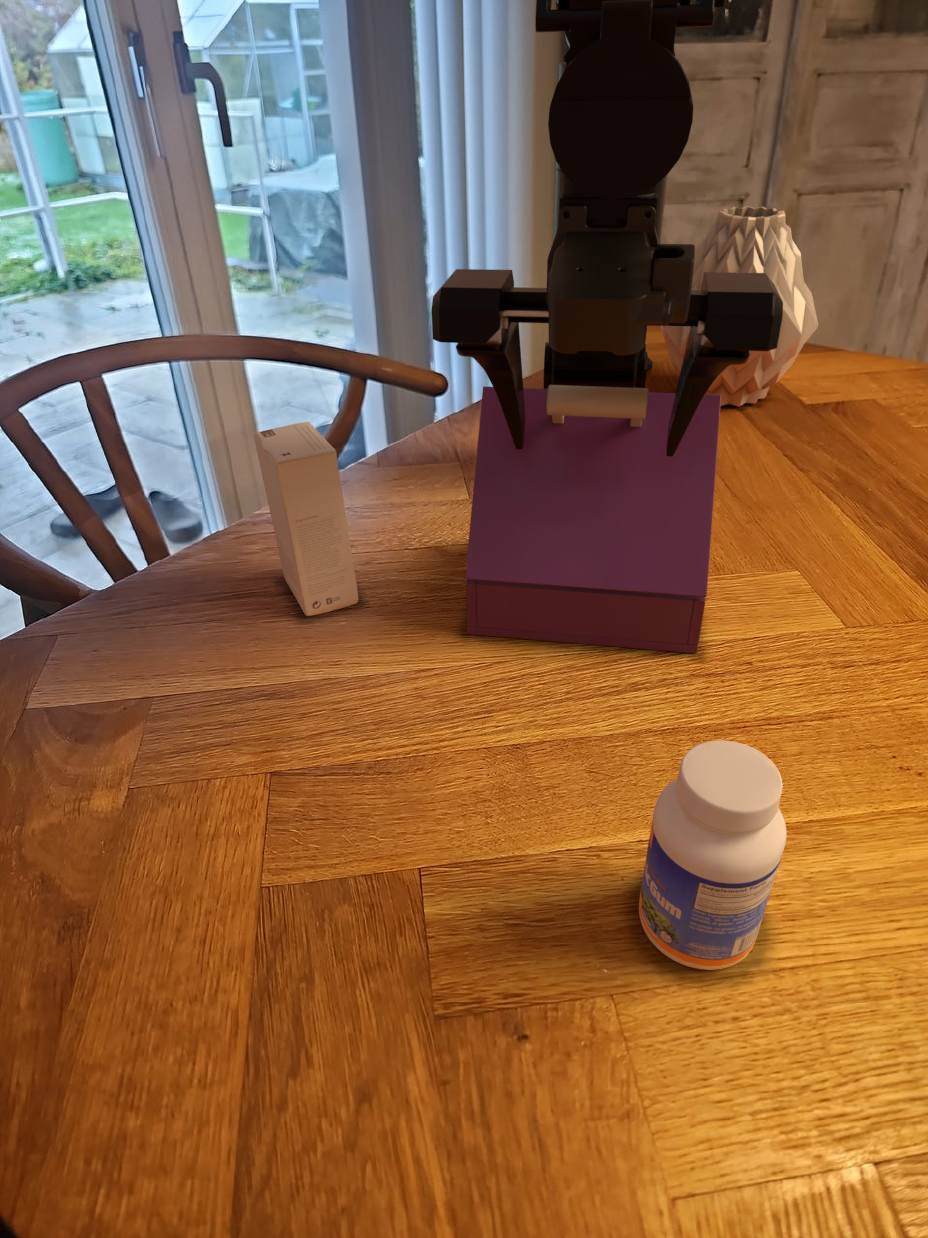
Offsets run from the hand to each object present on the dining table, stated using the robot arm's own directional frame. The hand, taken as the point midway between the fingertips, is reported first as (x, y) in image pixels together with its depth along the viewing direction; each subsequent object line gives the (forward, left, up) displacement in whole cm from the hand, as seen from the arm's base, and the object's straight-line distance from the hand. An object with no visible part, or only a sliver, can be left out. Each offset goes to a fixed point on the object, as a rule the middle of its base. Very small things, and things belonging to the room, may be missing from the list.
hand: (593, 450), depth 53 cm
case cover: (-1, +1, -3) cm, 3 cm away
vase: (-18, +43, -13) cm, 48 cm away
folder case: (-2, +2, -13) cm, 13 cm away
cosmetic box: (-16, -12, -13) cm, 23 cm away
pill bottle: (+20, -15, -13) cm, 28 cm away
